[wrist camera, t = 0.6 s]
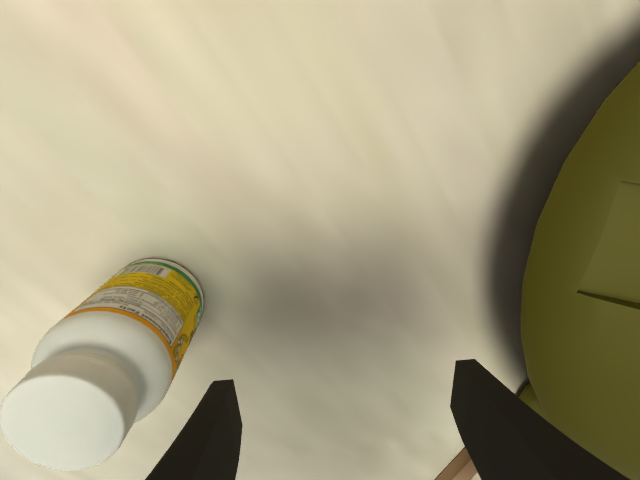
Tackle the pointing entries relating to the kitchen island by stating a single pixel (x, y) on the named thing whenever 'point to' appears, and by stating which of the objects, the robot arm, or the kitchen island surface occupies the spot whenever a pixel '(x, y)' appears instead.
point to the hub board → (460, 469)
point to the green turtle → (590, 289)
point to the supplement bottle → (103, 367)
